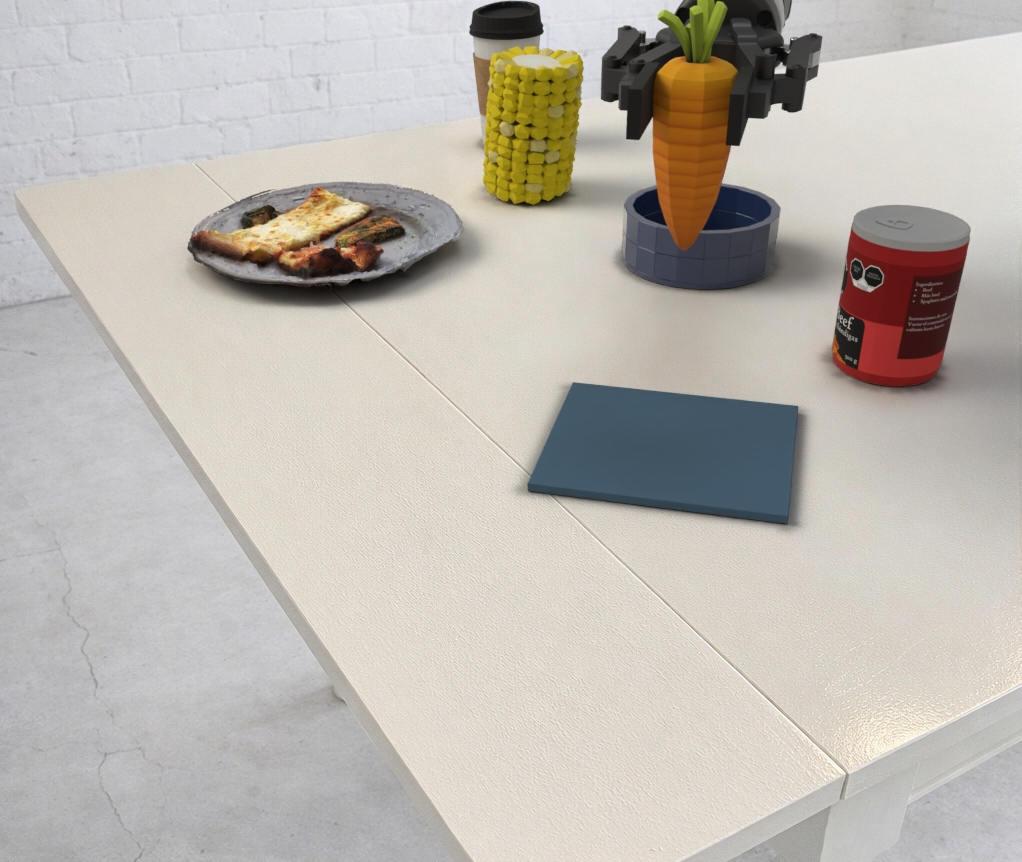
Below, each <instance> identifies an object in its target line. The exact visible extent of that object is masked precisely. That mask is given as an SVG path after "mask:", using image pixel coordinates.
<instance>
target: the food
mask: <svg viewBox="0 0 1022 862" xmlns="http://www.w3.org/2000/svg"><path fill="white" fill-rule="evenodd" d="M584 69H585V67H584V61H583V59H582V57H581V55H580V54H579V53H578V52H577V51H575V50H569V51H567V50H563V49H556V50H554V49H552V48H548V47H545V48H541V49H539V50H538V48H537V47H536V46H529V47H525V48H524V49H523V50H522V49H520V48H519V47H518V46H516V47H513V48H511V49H509V50H508V52H507V51H503V52H502V53H493V55H492V56H491V62H490V67H489V71H490V80H489V82H488V86H489V88H490V89H489V91H488V96H487V100H488V102H487V105H486V106H487V108H486V110H487V114H486V120H487V123H486V124H485V134H486V138H485V141H484V144H483V155H484V160H483V163H482V166H483V169H482V170H483V173H484V175H483V176H482V182H483V184H484V186H485V188H486V191H487V193H488V194H489V195H491V196H492V195H496V197H497V198H498V199H499V200H500V201H502V202H508V201H511V202H512V203H513V205H517V204H520V203H523V202H525V203H527V204H530V205H533V206H534V205H536V204H539V203H540V201H541V200H544V201H547V202H549V201H551V200H552V199H554V198H555V196H556V197H561V196H563V194H564V193H567V192H570V190H571V186H572V175H573V171H574V169H573V168H574V162H575V161H576V157H575V155H576V151H577V148H576V146H577V144H578V143H577V142H578V140H577V137H578V133H579V131H578V127H580V122H579V119H580V113H579V111H580V109H581V106H582V105H583V103H582V92H583V91H582V83H583V82H584V74H583V73H584ZM484 145H485V146H484Z"/></svg>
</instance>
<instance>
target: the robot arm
mask: <svg viewBox="0 0 1022 862" xmlns="http://www.w3.org/2000/svg"><path fill="white" fill-rule="evenodd" d="M717 1H720V2H723V3H724V4H725V5H726V7H727V12H726V15H725V18H724V20H723V23H722V25H721V28H720V30H719V32H718V35H717V37H716V39H715V41H714V43H713V45H712V50H711V56H712V57H716V58H719V59H722V60H725V61H727V62H729V63H730V64H732V65H733V66H734V67H735V68H736V69H737V71H738V76H737V78H736V81H735V84H734V86H733V89H732V91H731V94H730V103H729V114H728V124H727V135H726V145H728V146H731V147H740V146H741V142H742V139H743V136H744V134H745V130H746V127H747V124H748V121H749V119H755V120H757V119H758V120H764V119H766V118H768V116H769V113H770V112H771V110H772V109H771V108H772V105H778V104H781V108H780V109H781V110H782V111H785V112H787V113H791V114H793V113H798V112H800V111H802V110H803V105H804V100H805V94H806V89H807V83H808V82H809V81H811V80H814V79H815V78H817V77H818V74H819V68H820V60H821V52H822V51H821V50H822V45H823V36H822V35H820V34H818V33H815V32H811V33H809V34H805V35H802V36H799V37H797V36H792V37H790V38H789V44H787V43H785V38H784V36H783V35H782V33H783V30H784V28H785V26H786V21H787V20H788V19H789V18H790V15H791V10H792V5H793V0H714V3H715V5H716V2H717ZM696 5H697V0H682V1H681V2H680V4H679V5H678V7H677V8H676V10H675V12H674V13H673V14H674V15H676V16H677V17H679V19H680V20H681V22H682V24H683V25H684V27H686V26H687V25H688V24H689V23H690V8H691V7H693V6H696ZM684 56H685V53H684V51H683V48H682V45H681V43H680V41H679V39H678V38H677V36H676V35H675V33H674V32H673V31H672V30H671V28H670V27H669V26H667V27H664V28H661V29H659V31H658V32H657V33H656V35H655V37H652V38H651V37H648V38H647V31H645V30H642V29H641V30H638V29H637V28H636V27H634V26H631V25H629V24H628V25H627V24H625V25H622V26H620V27H618V28H617V40H616V41H614V43H613V44H612V45H611V46H610V47H609V48H608V49H607V50H606V52H605V53H604V54H603V55H602V56H601V72H600V73H601V74H600V77H601V78H600V100H601V101H603V102H606V103H614V102H617V101H618V102H617V103H618V105H617V109H619V111H625V112H626V127H625V128H626V129H625V130H626V131H625V140H630V141H640V140H641V138H642V137H643V135H644V134H645V131H646V129H647V128H648V126H649V125H650V123H651V121H652V120H653V95H654V82H655V78H656V75H657V72H658V71H659V70H660V69H661V68H662V67H663V66H664V65H665V64H667V63H668V62H669V61H670V60H672V59H674V58H677V57H684ZM781 63H782V65H781ZM780 65H781V66H783V67H785V73H776V69H777V68H778V67H779V66H780Z"/></svg>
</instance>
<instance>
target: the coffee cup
mask: <svg viewBox="0 0 1022 862" xmlns="http://www.w3.org/2000/svg"><path fill="white" fill-rule="evenodd" d="M471 15H472V16H471V23H470V25H469V31H468V34H469V35H470V36H472V41H473V42H472V43H473V53H472V58H473V59H472V60H473V67H474V77H475V84H476V85H475V86H476V94H477V102H478V109H479V111H478V112H479V116H480V126H481V127H480V128H481V137H482V144H483V147H484V146H485V145H484V141H485V138H486V134H485V124H486V123H487V120H486V114H487V110H486V108H487V106H486V105H487V102H488V100H487V96H488V91H489V89H490V88H489V86H488V82H489V80H490V71H489V67H490V62H491V56H492V55H493V53H502V52H503V51H507V52H508V50H509V49H511V48H513V47H516V46H518V47H519V48H520V49H522V50H523V49H524V48H525V47H529V46H536V47H537V48H538V50H539V51H540V45H541V44H540V42H541V35H543V34H544V32H545V31H544V24H543V22H542V17H541V7H540V5H539V4H538V3H536V2H532V1H527V0H501V1H495V2H492V3H488V4H485V5H482V6H480V7H477V8H475V9H474V10H473V11H472V14H471Z"/></svg>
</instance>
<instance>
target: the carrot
mask: <svg viewBox="0 0 1022 862" xmlns="http://www.w3.org/2000/svg"><path fill="white" fill-rule="evenodd" d="M726 12H727V7H726V5H725V4H724V3H723V2H720V1H717V2H716V5H715V3H714V0H697V5H696V6H693V7H691V8H690V23H689V24H688V25H687V26H686V27H684V25H683V24H682V22H681V20H680V19H679V17H677V16H676V15H674V14H675V13H673V12H671V11H669V10H667V9H662V10H661V11H659V13H658V15H657V20H658V21H659V22H661V23H663V24H664V25H666V26H667V27H670V28H671V30H672V31H673V32H674V33H675V35H676V36H677V38H678V39H679V41H680V43H681V45H682V48H683V51H684V53H685V56H684V57H677V58H674V59H672V60H670V61H669V62H668V63H667V64H665V65H664V66H663V67H662V68H661V69H660V70H659V71H658V72H657V75H656V78H655V82H654V95H653V118H652V157H653V167H654V176H655V183H656V185H657V191H658V197H659V203H660V206H661V209H662V212H663V215H664V219H665V222H666V224H667V226H668V228H669V231H670V233H671V235H672V237H673V239H674V242H675V243H676V244H677V245H678V246H679V247H680V248H681V250H683V251H686V250H687V249H688V248H690V247H691V246H692V245H693V244H694V242H695V241H696V239H697V237H698V235H699V234H700V232H701V230H702V229H703V227H704V225H705V224H706V222H707V220H708V218H709V216H710V213H711V211H712V209H713V207H714V205H715V202H716V200H717V197H718V194H719V190H720V187H721V184H722V183H723V180H724V178H725V173H726V170H727V166H728V161H729V158H730V157H729V156H730V154H731V151H732V150H731V149H732V146H728V145H726V135H727V124H728V114H729V103H730V94H731V91H732V89H733V86H734V84H735V81H736V78H737V76H738V71H737V69H736V68H735V67H734V66H733V65H732V64H730V63H729V62H727V61H725V60H722V59H719V58H716V57H712V56H711V50H712V45H713V43H714V41H715V39H716V37H717V35H718V32H719V30H720V28H721V25H722V23H723V20H724V18H725V15H726Z"/></svg>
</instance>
